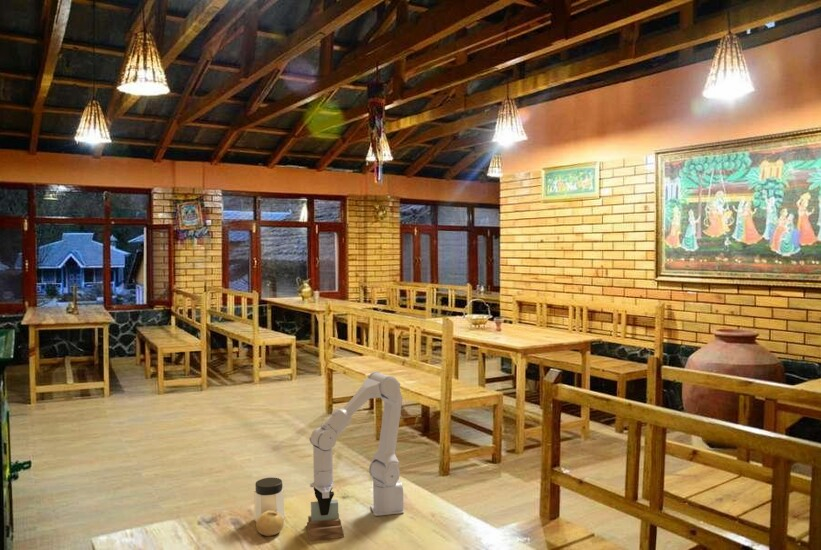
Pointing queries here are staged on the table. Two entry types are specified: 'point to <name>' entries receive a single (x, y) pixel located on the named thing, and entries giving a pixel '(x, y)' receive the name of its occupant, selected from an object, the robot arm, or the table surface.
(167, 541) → the table surface
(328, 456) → the robot arm
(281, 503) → the jar
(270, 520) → the onion
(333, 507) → the pale green prism
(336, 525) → the rack
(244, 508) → the table surface
